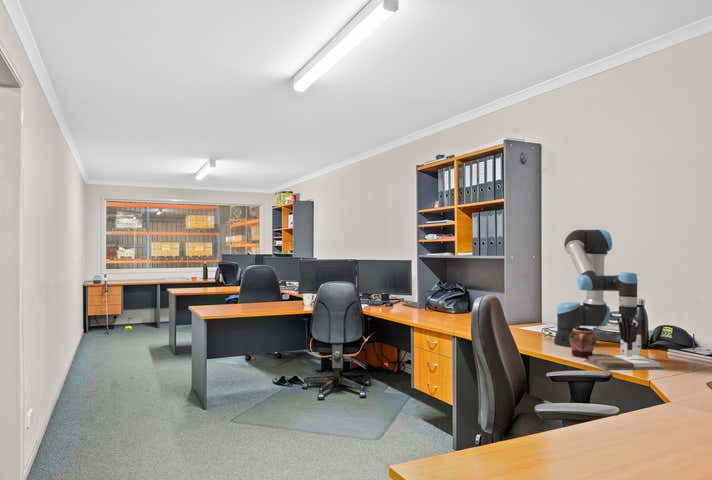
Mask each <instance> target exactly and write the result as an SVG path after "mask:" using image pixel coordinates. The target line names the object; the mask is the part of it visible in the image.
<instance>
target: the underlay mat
mask: <svg viewBox="0 0 712 480" xmlns="http://www.w3.org/2000/svg"><path fill="white" fill-rule="evenodd" d="M583 361H584V362H586V363H587V362H588V364H590V365H591V366H592V365H593V366H595V367H597V368H599V369H601V370H604V371H622V370H623V371H627V370H628V371H629V370H631V371H632V370H633V371H636V370H641V371H642V370H643V371H644V370H645V369H646V370H665V369H664V368H665V367H663V366H660V365H659V367H633V368H606V367H603V366H601V365H598V364H596V363H594V362H591V361H589V360H588V359H583Z"/></svg>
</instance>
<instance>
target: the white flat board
mask: <svg viewBox="0 0 712 480" xmlns="http://www.w3.org/2000/svg"><path fill="white" fill-rule="evenodd" d="M613 356H615V357H617V358H620V359H623V360H626V361H628V362H631V363H633V367H659V366H660V362H659V361H656V360H654V359H650V358H648V357H644V356H642V355H641V356H639V355H632V357H625V356H624V355H621V354H620V355H619V354H618V355H613Z"/></svg>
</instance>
